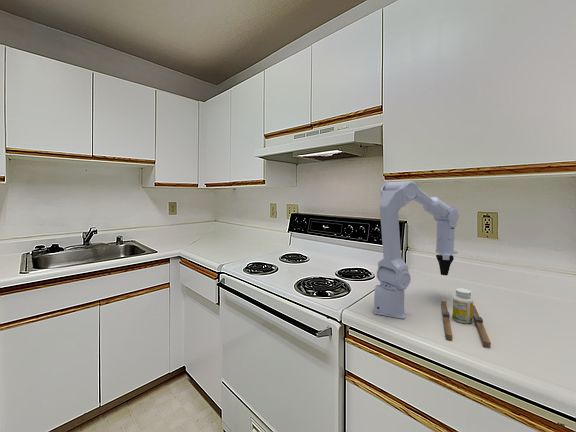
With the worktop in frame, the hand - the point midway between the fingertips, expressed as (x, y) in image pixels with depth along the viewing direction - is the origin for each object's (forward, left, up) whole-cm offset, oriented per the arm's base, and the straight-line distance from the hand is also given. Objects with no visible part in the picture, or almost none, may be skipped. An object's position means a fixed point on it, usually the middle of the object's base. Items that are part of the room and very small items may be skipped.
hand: (444, 274), depth 103 cm
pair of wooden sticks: (+4, -19, -9) cm, 22 cm away
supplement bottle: (+4, -17, -10) cm, 20 cm away
